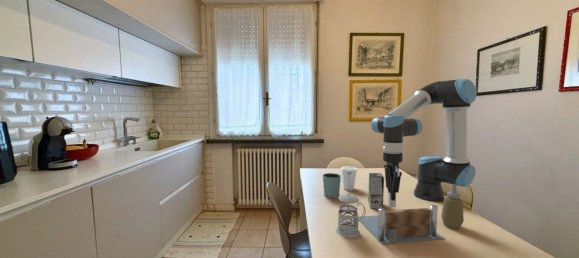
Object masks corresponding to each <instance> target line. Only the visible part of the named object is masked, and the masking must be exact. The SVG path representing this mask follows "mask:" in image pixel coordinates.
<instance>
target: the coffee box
mask: <svg viewBox="0 0 579 258" xmlns="http://www.w3.org/2000/svg"><path fill="white" fill-rule="evenodd" d="M384 191H385V176H384V175H383V174H382V173H380V172H377V173H376V172H369V173H368V205H369V209H377V210H378V209H379V208H383V209H384Z"/></svg>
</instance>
